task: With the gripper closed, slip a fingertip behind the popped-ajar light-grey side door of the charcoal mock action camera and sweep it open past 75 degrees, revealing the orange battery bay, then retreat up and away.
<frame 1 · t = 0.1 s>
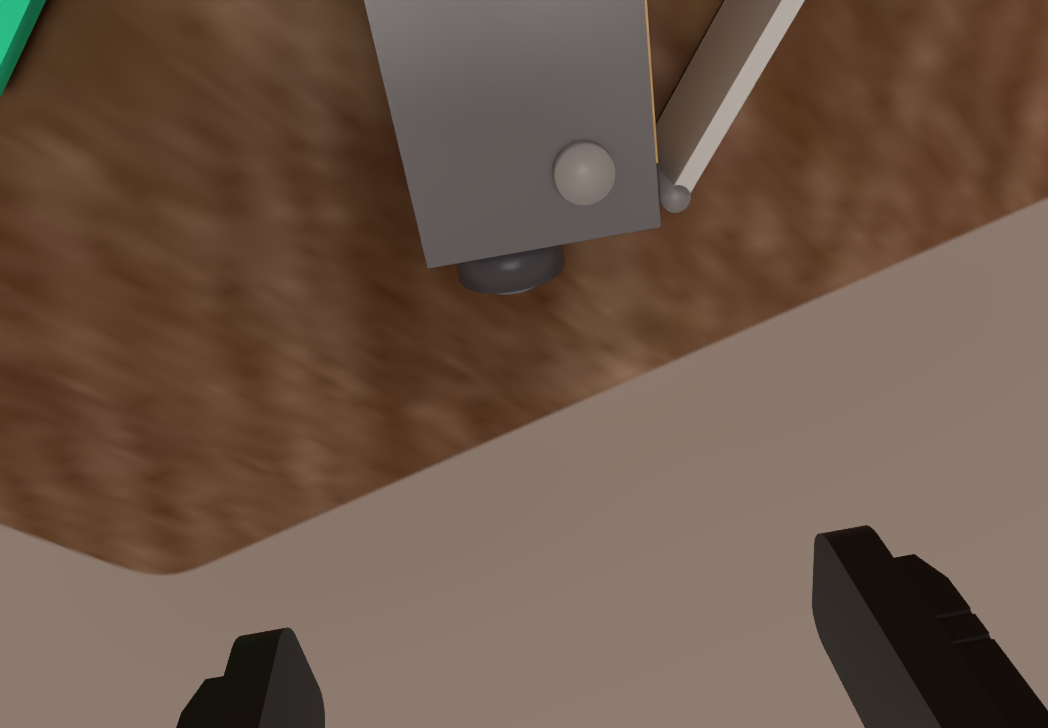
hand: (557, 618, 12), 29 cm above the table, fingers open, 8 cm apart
side door: (748, 47, 33), point 3 cm above the table, hinge at 35.0°
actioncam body: (499, 2, 34), on the table
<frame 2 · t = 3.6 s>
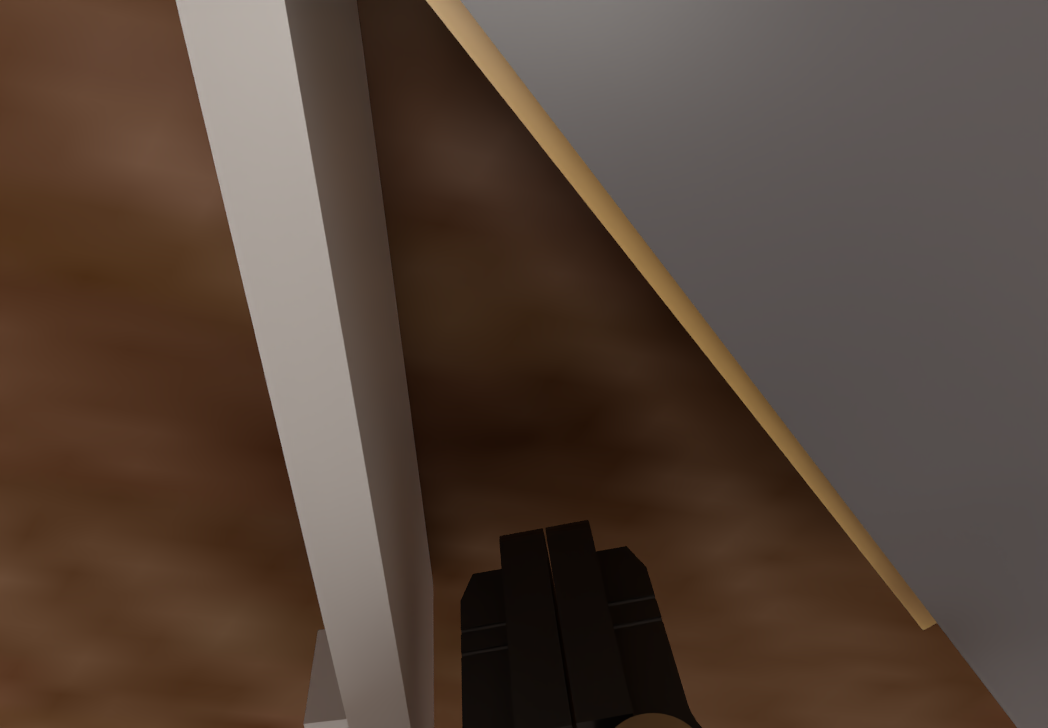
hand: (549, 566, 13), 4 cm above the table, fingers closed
side door: (322, 397, 11), point 3 cm above the table, hinge at 36.4°, touching gripper
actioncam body: (916, 70, 13), on the table
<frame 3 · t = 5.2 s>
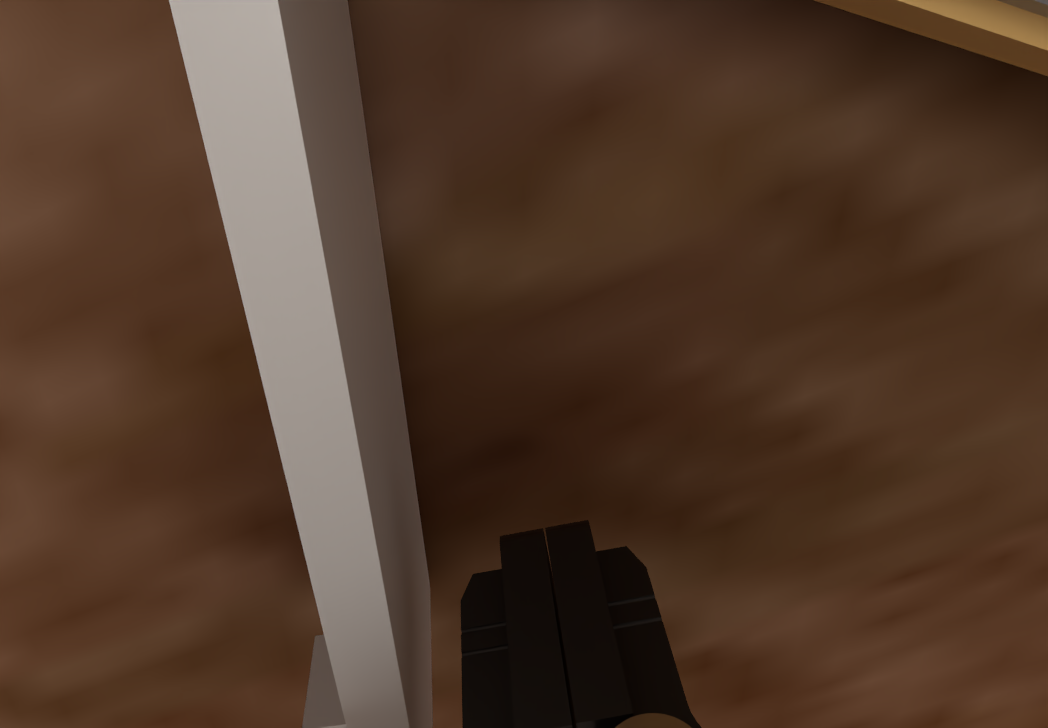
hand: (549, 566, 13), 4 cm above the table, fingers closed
side door: (317, 401, 11), point 3 cm above the table, hinge at 72.2°, touching gripper
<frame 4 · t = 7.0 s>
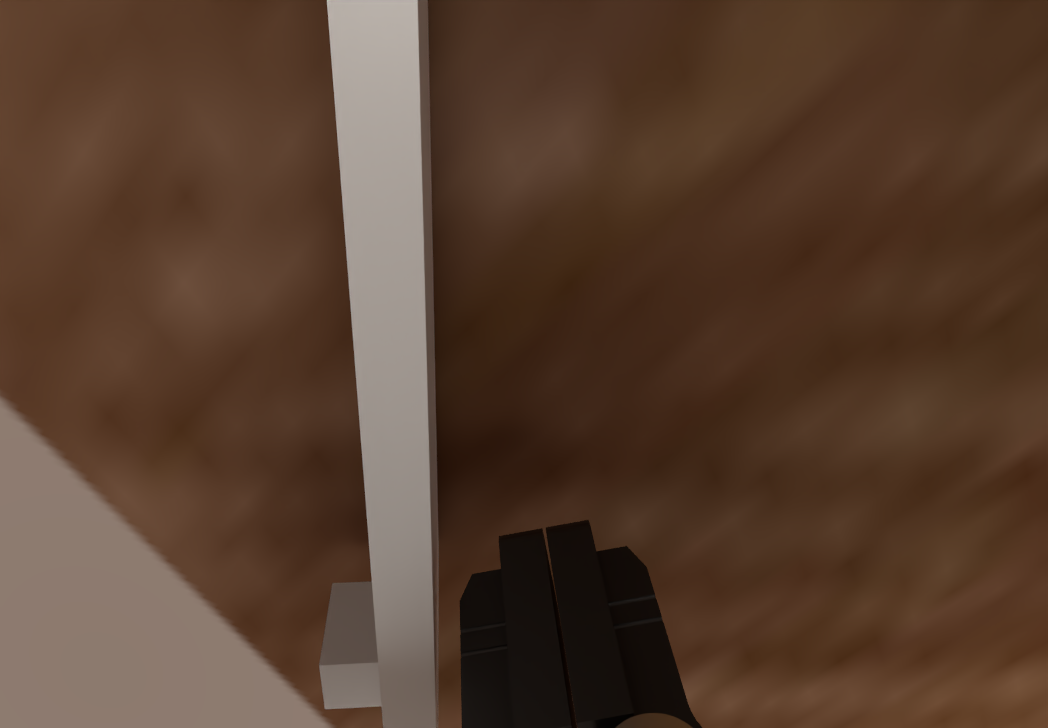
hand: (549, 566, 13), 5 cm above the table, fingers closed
side door: (369, 353, 12), point 3 cm above the table, hinge at 101.4°
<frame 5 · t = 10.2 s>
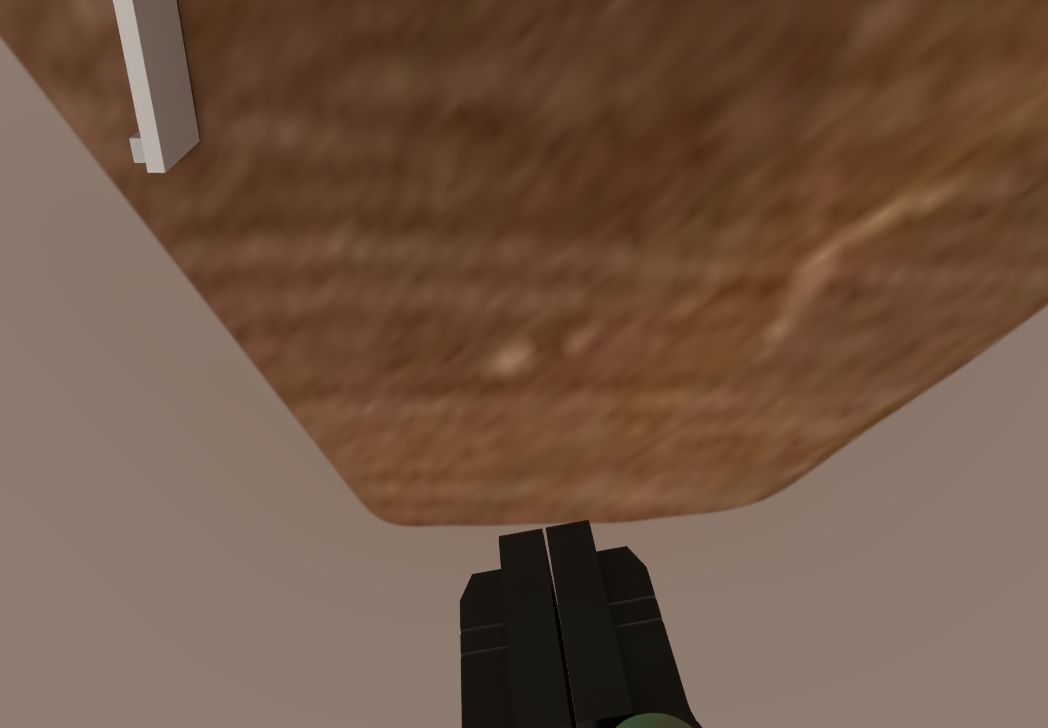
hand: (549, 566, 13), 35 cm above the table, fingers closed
side door: (136, 7, 36), point 3 cm above the table, hinge at 101.4°
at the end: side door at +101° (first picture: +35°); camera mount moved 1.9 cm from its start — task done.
